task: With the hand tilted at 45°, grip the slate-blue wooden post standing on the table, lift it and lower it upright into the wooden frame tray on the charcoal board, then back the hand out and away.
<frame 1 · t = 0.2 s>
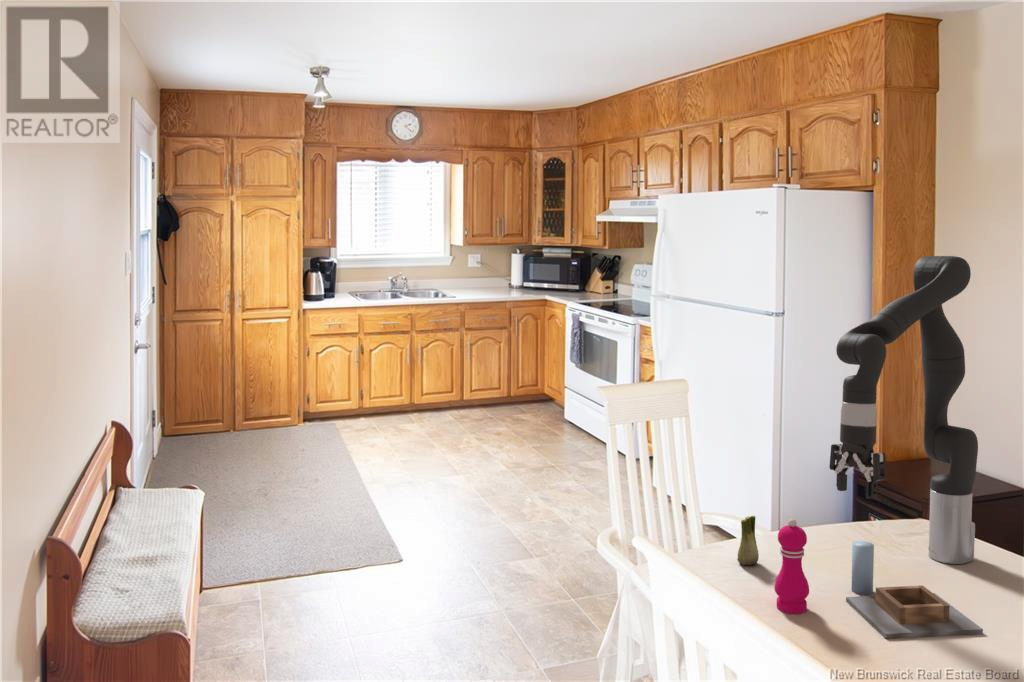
hand: (855, 494, 191), 23 cm above the table, tool pointing down, fingers open, 8 cm apart
pepper mill: (791, 608, 185), on the table
post: (862, 591, 193), on the table
wooden frame tray: (911, 616, 179), on the table
fennel bulb: (748, 564, 211), on the table
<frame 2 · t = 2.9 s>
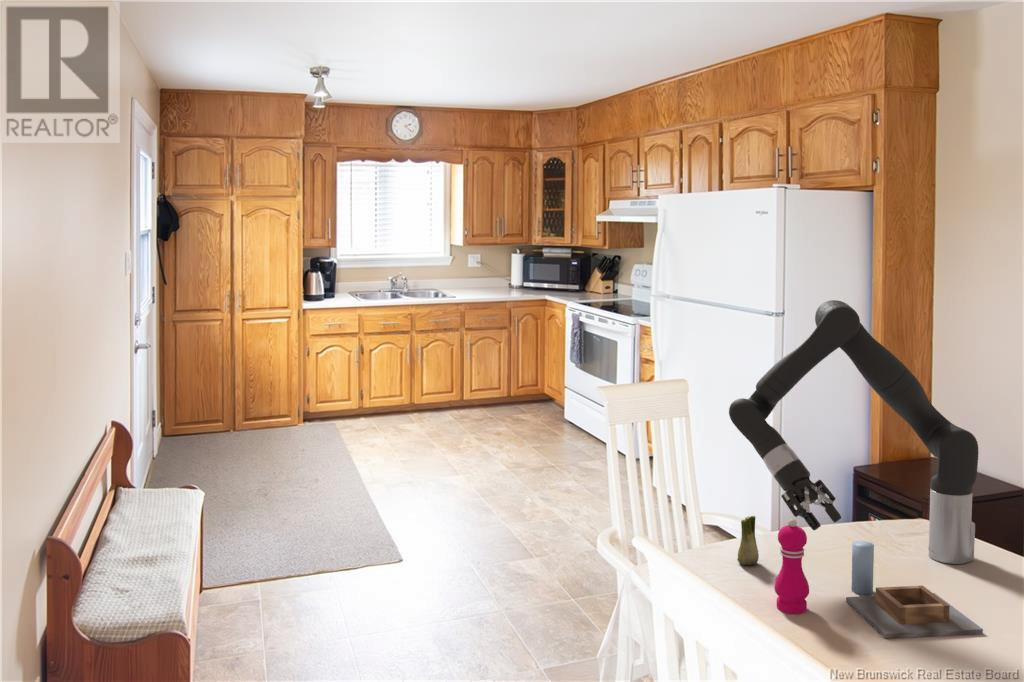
hand: (828, 524, 198), 13 cm above the table, tool tilted 45°, fingers open, 8 cm apart
nothing on the table moved.
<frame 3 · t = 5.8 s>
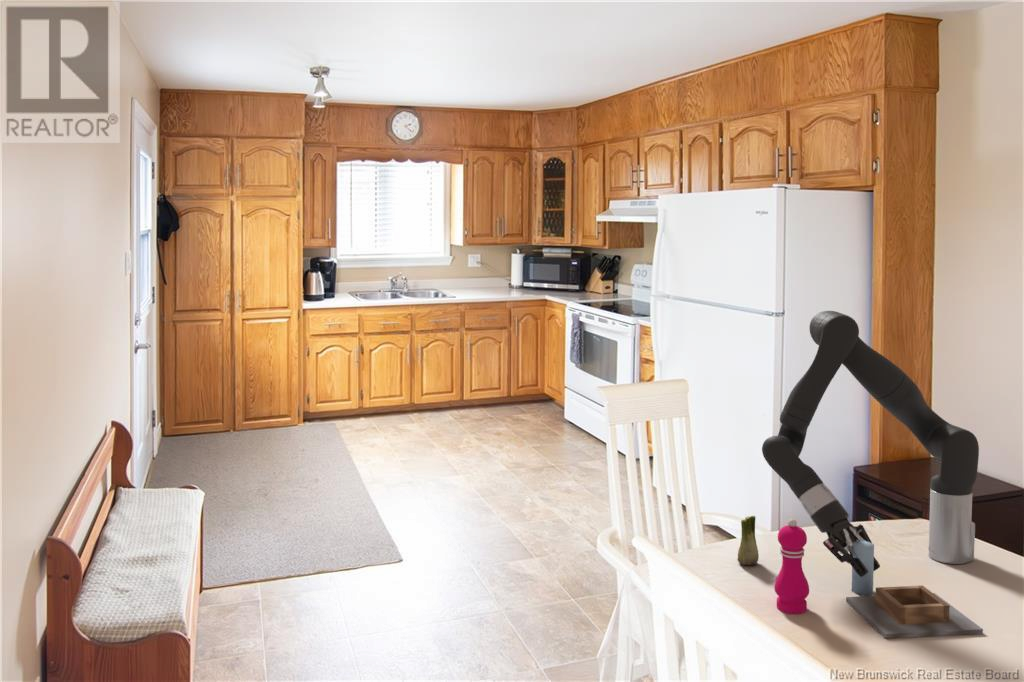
hand: (870, 571, 191), 5 cm above the table, tool tilted 45°, fingers closed on post, 4 cm apart
post: (862, 590, 193), on the table, touching gripper
everything else where it was.
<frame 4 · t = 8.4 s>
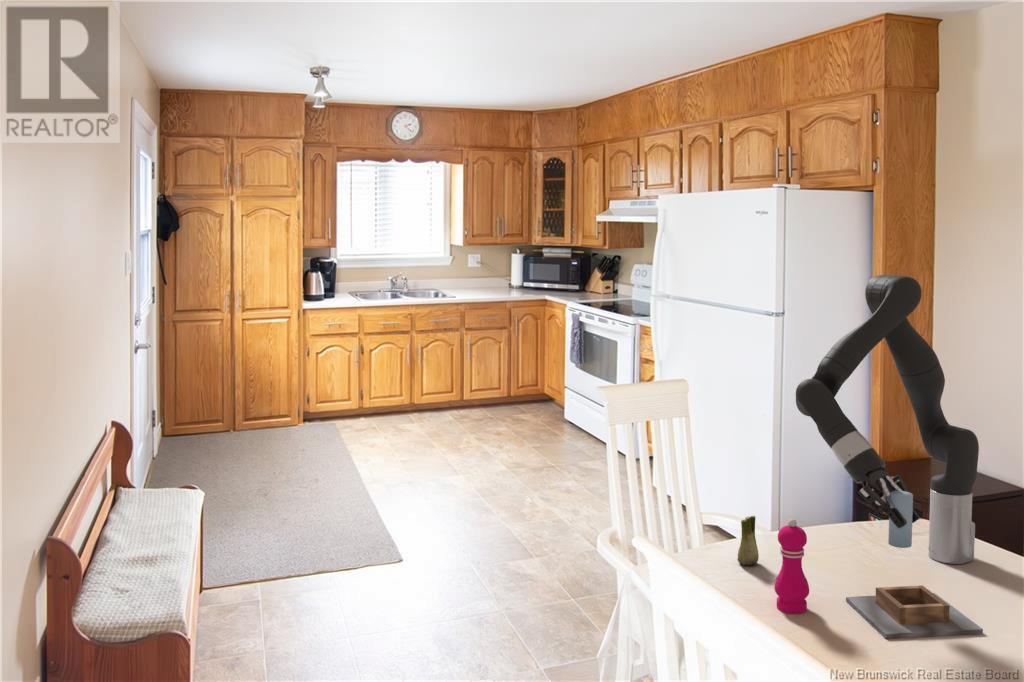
hand: (909, 523, 178), 20 cm above the table, tool tilted 45°, fingers closed on post, 4 cm apart
post: (899, 544, 180), point 15 cm above the table, touching gripper
everything else where it was.
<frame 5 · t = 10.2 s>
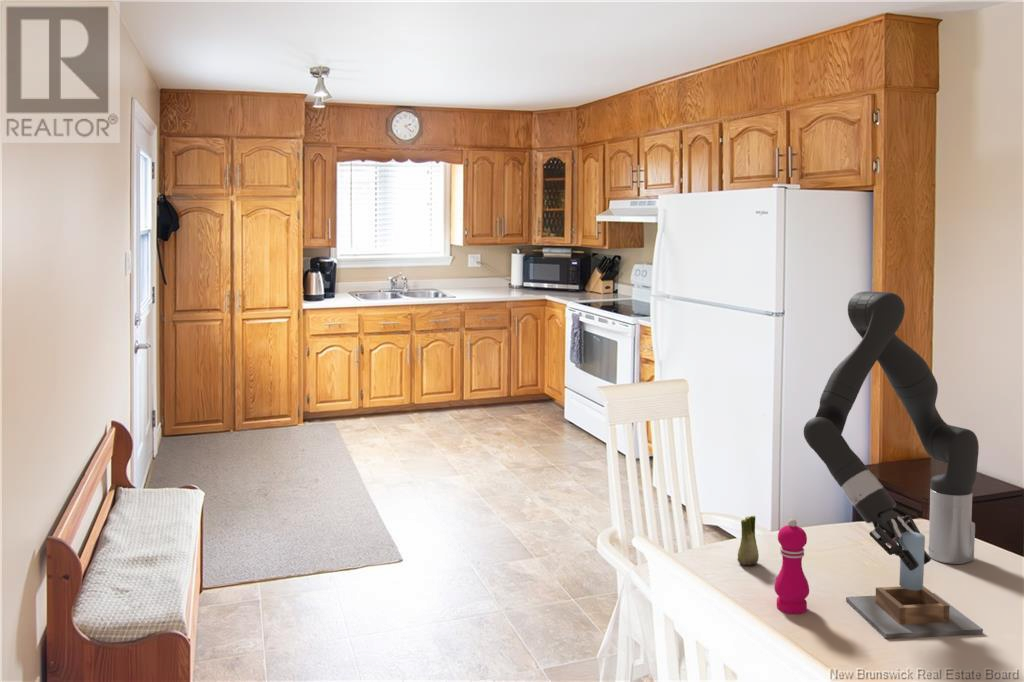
hand: (921, 565, 176), 12 cm above the table, tool tilted 45°, fingers closed on post, 4 cm apart
post: (911, 586, 178), point 7 cm above the table, touching gripper
everything else where it was.
when the fingers open (8 cm above the table, at t = 11.4 s): post drops 1 cm, resting on wooden frame tray.
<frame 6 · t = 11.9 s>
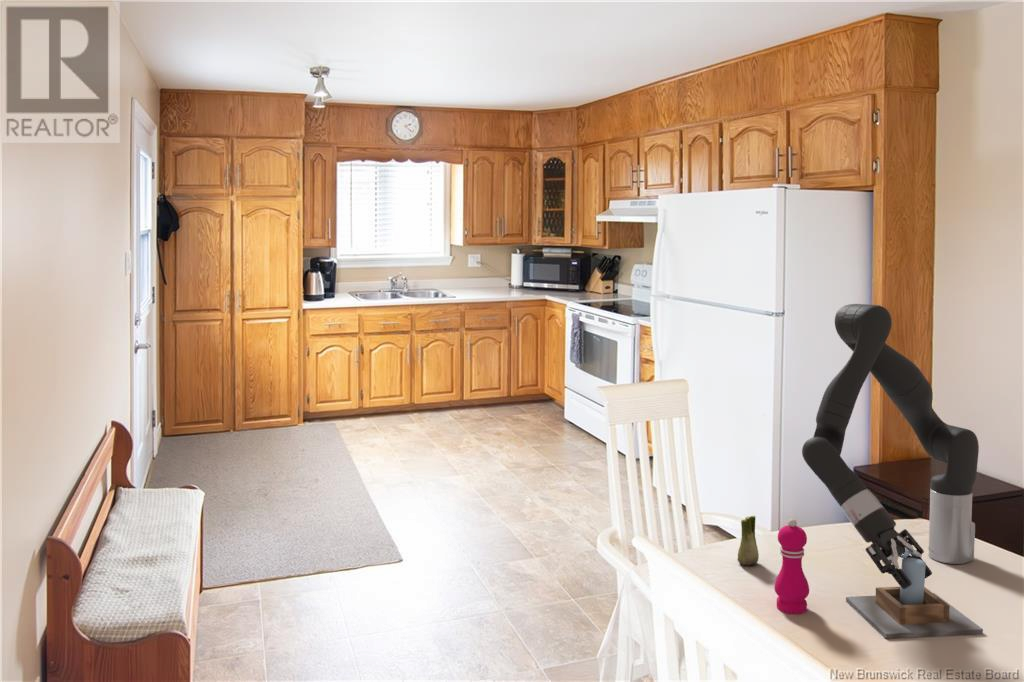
hand: (918, 581, 177), 8 cm above the table, tool tilted 45°, fingers open, 8 cm apart
post: (910, 611, 179), point 1 cm above the table, touching wooden frame tray
everything else where it was.
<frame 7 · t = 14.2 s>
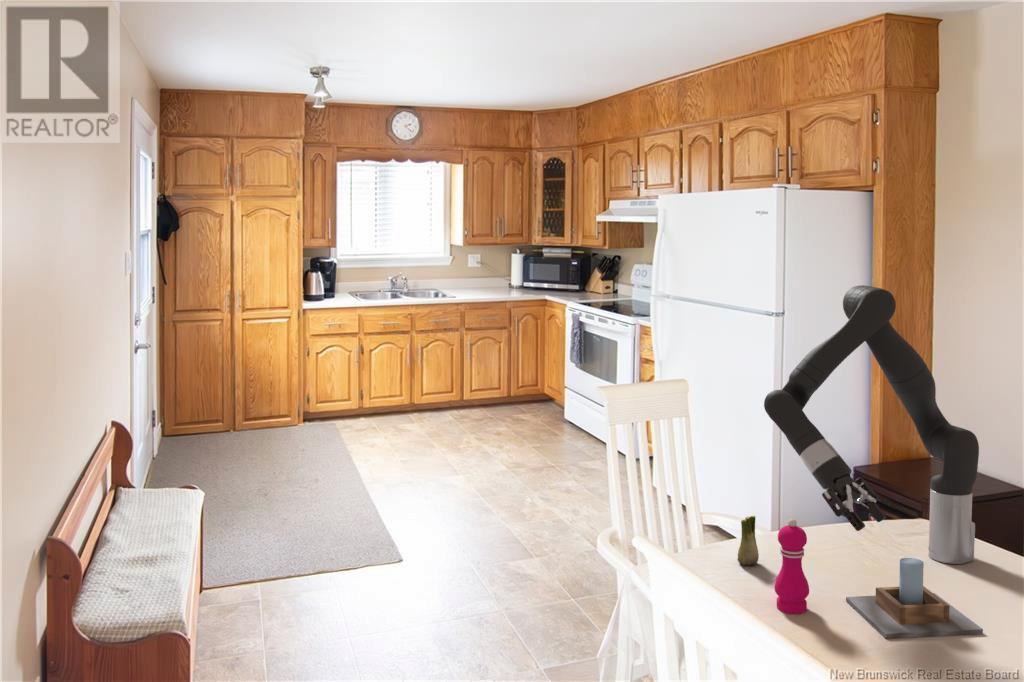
hand: (872, 524, 186), 17 cm above the table, tool tilted 45°, fingers open, 8 cm apart
nothing on the table moved.
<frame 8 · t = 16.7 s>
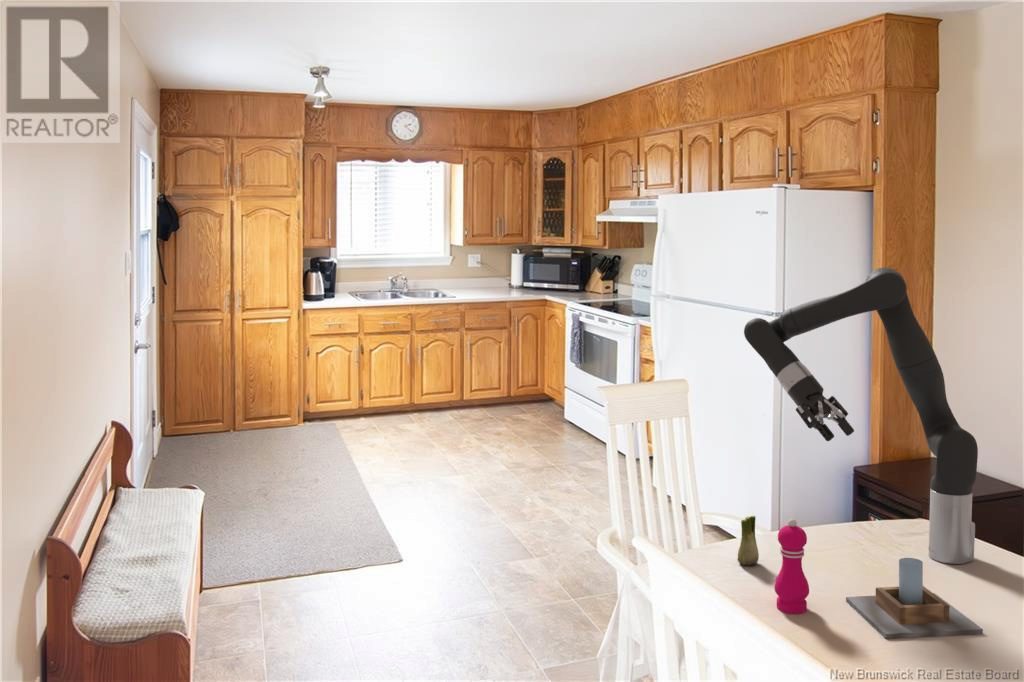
hand: (841, 436, 203), 33 cm above the table, tool tilted 45°, fingers open, 8 cm apart
nothing on the table moved.
at the end: post 0.1 cm off-centre on the wooden frame tray, point 1.0 cm above the wooden frame tray's base; post tilted 1°; the gripper is holding nothing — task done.
